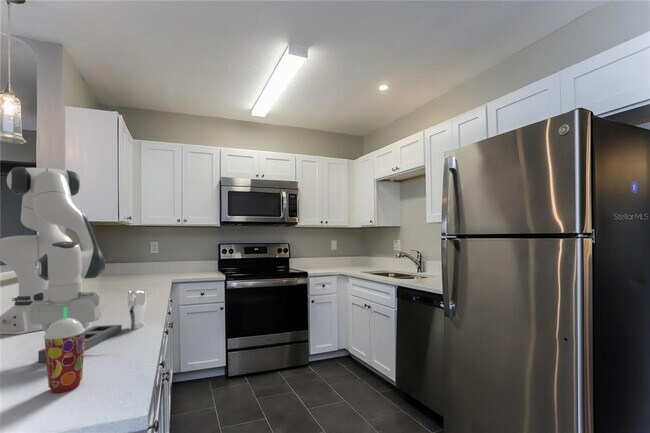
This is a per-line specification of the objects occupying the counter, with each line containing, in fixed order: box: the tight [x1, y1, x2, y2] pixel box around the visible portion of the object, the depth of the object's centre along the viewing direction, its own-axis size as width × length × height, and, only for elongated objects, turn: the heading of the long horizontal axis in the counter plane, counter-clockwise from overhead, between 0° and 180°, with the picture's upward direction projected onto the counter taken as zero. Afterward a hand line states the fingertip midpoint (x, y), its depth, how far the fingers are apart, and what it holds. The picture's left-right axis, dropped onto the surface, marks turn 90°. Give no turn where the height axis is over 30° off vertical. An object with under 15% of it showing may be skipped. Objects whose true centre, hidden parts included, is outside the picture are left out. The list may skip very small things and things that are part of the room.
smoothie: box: [43, 307, 87, 394], centre depth 86 cm, size 8×8×20 cm
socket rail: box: [37, 324, 123, 364], centre depth 117 cm, size 27×10×4 cm, turn 2°
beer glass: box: [126, 289, 147, 330], centre depth 137 cm, size 7×7×15 cm
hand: (65, 336), depth 109 cm, fingers open, 8 cm apart
